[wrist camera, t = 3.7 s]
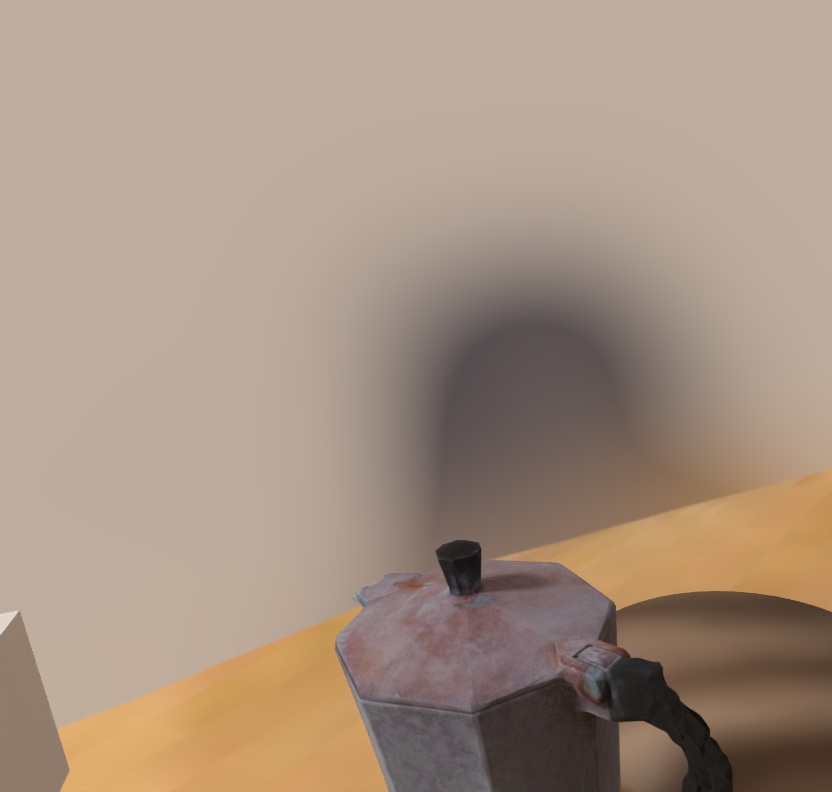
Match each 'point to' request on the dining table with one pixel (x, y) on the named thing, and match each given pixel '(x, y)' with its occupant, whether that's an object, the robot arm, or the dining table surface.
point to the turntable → (735, 688)
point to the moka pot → (506, 682)
